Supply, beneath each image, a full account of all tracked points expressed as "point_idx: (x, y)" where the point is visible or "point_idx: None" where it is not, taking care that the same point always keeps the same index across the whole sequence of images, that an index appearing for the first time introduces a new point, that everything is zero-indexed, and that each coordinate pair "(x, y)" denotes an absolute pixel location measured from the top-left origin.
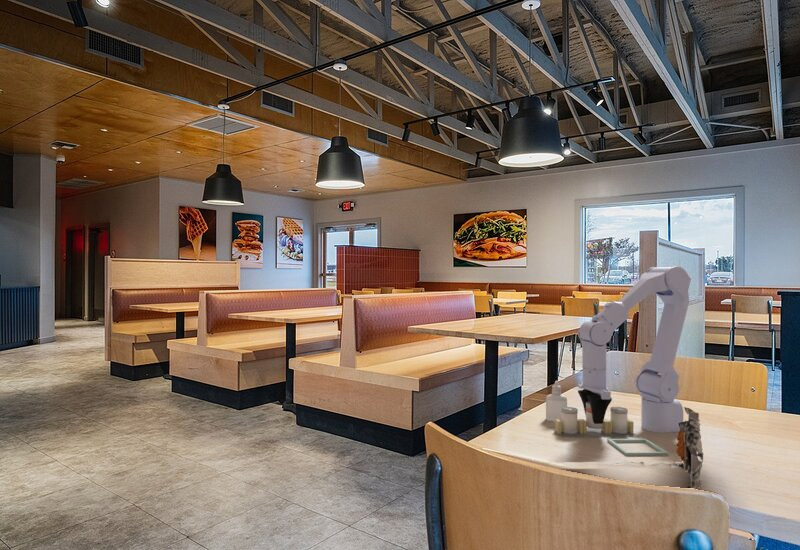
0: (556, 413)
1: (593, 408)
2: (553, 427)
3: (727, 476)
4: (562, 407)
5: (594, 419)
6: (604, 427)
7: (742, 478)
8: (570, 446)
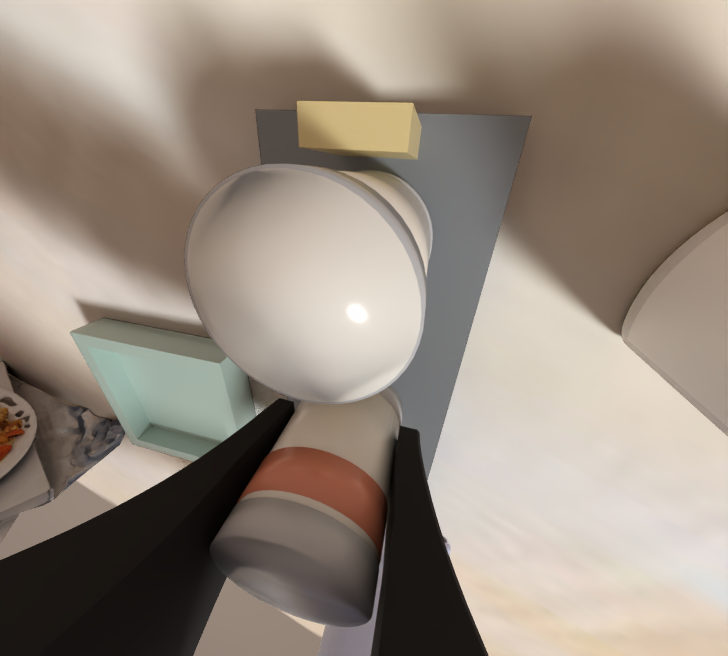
0: None
1: (156, 485)
2: (520, 151)
3: (104, 457)
4: (382, 238)
5: (258, 417)
6: None
7: (106, 469)
8: (207, 153)
